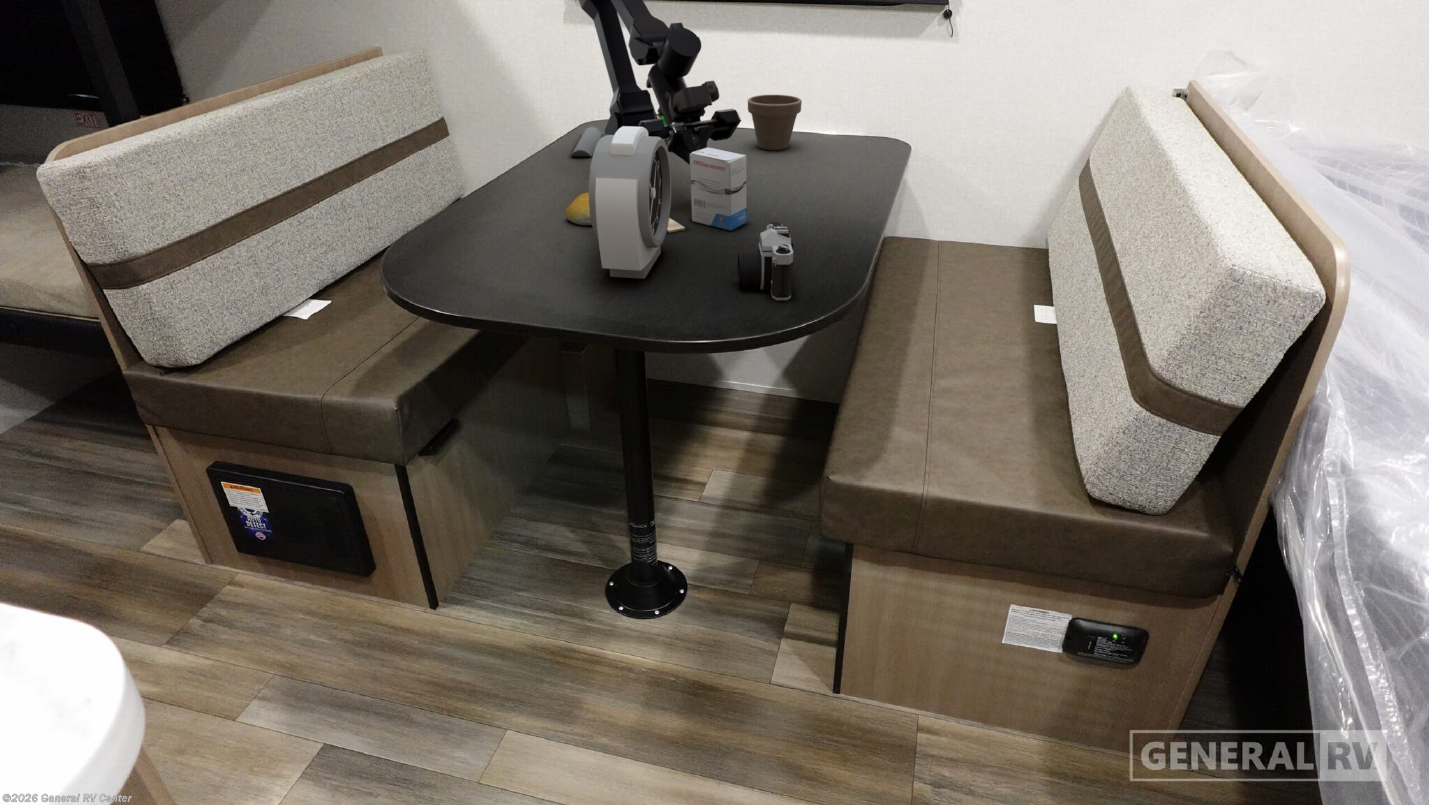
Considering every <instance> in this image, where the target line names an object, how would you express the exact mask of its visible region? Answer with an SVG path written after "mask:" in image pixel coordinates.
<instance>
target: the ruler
mask: <svg viewBox="0 0 1429 805" xmlns="http://www.w3.org/2000/svg"><path fill="white" fill-rule="evenodd" d="M685 230H686V227H685V226H683V225H682V224H681V223H679V222H678V221H676V220H674V219H672V218H671V217H669V222H668V228H667V231H666V233H669V234H671V233H676V232H680V231H681V232H682V231H685Z"/></svg>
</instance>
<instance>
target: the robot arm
mask: <svg viewBox="0 0 1429 805" xmlns="http://www.w3.org/2000/svg"><path fill="white" fill-rule="evenodd" d="M578 2H579V5H580V8H581V10H582V11H583V12H584V13H586V15H587V16H589V17H590V19H592V21H593V25H594V28H595V31H596V35H597V38H598V42H599V45H600V49H601V53H602V56H603V57H602V58H603V61H604V65H605V68H606V71H607V75H608V80H609V83H610V87H611V89H612V98H611V101H610V105H609V115H610V116H609V118H608V120H607V123H606V125H605V127H604V136H606V135H615V133H616V132H617V131H618V129H619V128H621V127H622V126H632V127H644V128H645V129H647V131H648V136H650V137H660V138H661V139H665V140H666V141H667V143H668V145H667V148H668V152H669V153H672V154H674V155H675V156H677V157H678V158H680V159H681V160H682V161H684V162H685V163H686V164H688V166H690V154H691V153H692V152H695V151H698V150H701V149H704V148H707V147H708V141H709V139H710V140H712V141H713V142H718V141H724V140H729V139H730V138H732V136H733V135H734V133H735V131H736V130H737V128H738V126H739V125H740V124H741V122H742V119H741V116H740V114H739V112H738V111H737V109H734V108H725V109H720V110H719V109H718V110H715V111H714V113H713V114H712V116H711V118H710V119H706V120H701V117H704V116H705V114H706V108H707V107H709V106H710V107H711V106H712V105H713V103H714V102H716V101H718V100H719V99H720V92H719V87H718V85H717V84H716V82H715V80H707V81H704V83H701V85H695V86H688V85H687V83H686V80H685V78H684V77H686V76H688V75H689V73H690V72H691V70H692V68H693V66H694V64H695V62H696V60H697V59H698V57H699V54H700V52H701V50H702V40H701V38H700V37H699V36H698V35H697V34H696V33H695V32H694V31H693V30H691V29H688V28H686V27H684V25H683V23H682V22H672V23H670V24H669V26H668V25H667V24H666V23H665V22H664V21H663V20H661V19H659V18H657V17H656V16H654V15H653V14H652V13H651V11H650V10H649V8H648V6H647V5H646V3H645V1H644V0H578ZM619 17H620V18H619ZM620 20H621V21H622V23H623V24H624V26H625V29H626V30H627V32H628V34H629V38H628V44H627V43H626V39H625V36H624V32H623V28H622V24H621V21H620ZM627 45H628V46H627ZM628 49H629V50H628ZM630 56H631V57H630ZM631 58H632V59H633V60H634V62H635V64H637V65H638V66H651V65H652V66H651V67H650V69H649V71H648V74H647V79H646V84H645V87H646V89H642V88H641V87H640V86H639V85H638V83H637V79H636V75H635V72H634V68H633V65H632V61H631ZM649 89H652V91H653V93H654V96H655V98H656V101H657V103H658V108H657V112H656V110H655V106H654V107H653V105H654V103H653V101H652V96H651V93H650V91H649ZM652 103H653V104H652ZM656 114H659V116H662V115H663V116H664V119H665V121H666V124H667V126H664V123H663V121H662V120H661V119H657V115H656Z"/></svg>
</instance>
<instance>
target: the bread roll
mask: <svg viewBox="0 0 1429 805" xmlns="http://www.w3.org/2000/svg"><path fill="white" fill-rule="evenodd" d="M565 217H566V219H567V220H568V221H569V222H571V223H573V224H576V225H579V226H580V225H581V226H592V222H591V217H590V209H589V191H588V192H584V193H581V194H579V195H578V196H577V197H576V198H575V199H574V200H573V201H572V202H571V203H570V205H568V207H567V208H566V210H565Z"/></svg>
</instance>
